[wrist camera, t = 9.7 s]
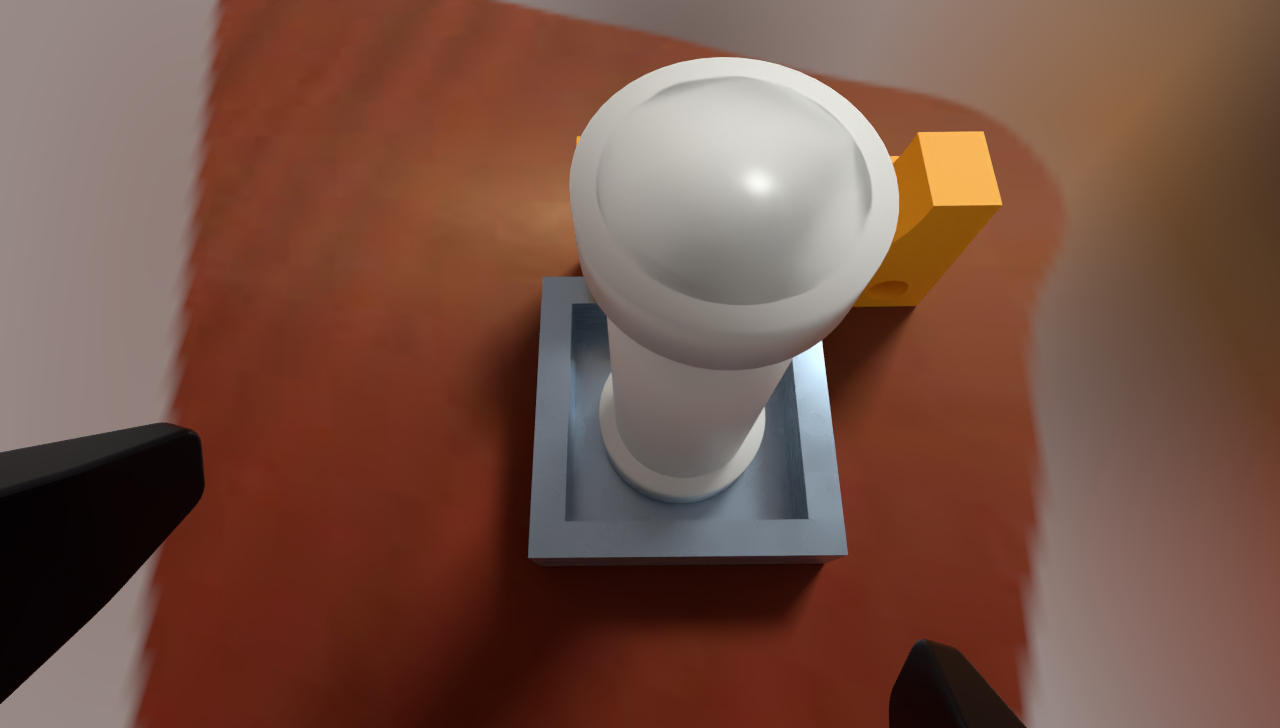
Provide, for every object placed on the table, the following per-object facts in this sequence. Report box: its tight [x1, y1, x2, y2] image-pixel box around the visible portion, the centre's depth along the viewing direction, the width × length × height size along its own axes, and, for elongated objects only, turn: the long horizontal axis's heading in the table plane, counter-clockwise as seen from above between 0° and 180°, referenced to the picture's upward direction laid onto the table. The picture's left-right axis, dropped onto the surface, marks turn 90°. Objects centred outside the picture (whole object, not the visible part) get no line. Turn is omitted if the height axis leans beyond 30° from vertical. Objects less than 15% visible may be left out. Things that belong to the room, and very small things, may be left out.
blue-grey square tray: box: [528, 277, 848, 566], centre depth 22 cm, size 9×9×2 cm
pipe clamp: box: [577, 132, 1002, 307], centre depth 22 cm, size 12×4×6 cm, turn 91°
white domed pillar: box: [569, 57, 899, 504], centre depth 16 cm, size 5×5×13 cm
